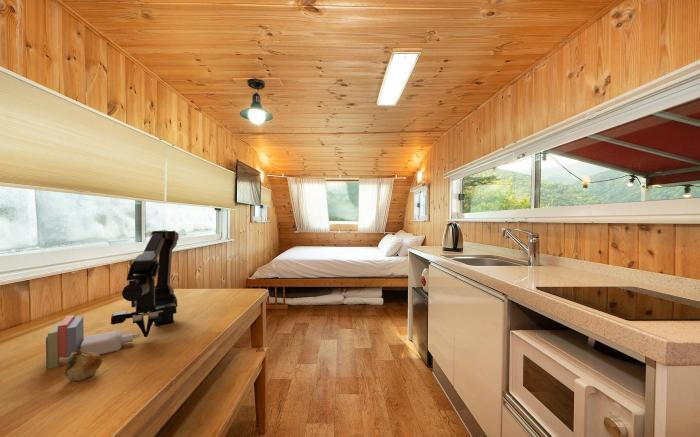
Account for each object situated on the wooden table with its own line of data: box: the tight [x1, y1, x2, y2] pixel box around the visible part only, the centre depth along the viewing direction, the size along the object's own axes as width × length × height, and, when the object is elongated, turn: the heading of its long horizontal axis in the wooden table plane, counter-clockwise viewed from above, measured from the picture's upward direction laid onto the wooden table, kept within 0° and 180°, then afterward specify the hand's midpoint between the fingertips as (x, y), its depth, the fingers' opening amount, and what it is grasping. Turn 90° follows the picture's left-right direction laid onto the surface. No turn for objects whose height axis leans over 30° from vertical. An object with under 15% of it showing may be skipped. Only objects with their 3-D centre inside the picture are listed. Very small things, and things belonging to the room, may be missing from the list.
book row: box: [45, 314, 85, 369], centre depth 89 cm, size 7×12×12 cm, turn 36°
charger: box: [81, 330, 141, 356], centre depth 96 cm, size 5×9×15 cm
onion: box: [59, 349, 104, 382], centre depth 77 cm, size 8×8×8 cm
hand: (145, 336), depth 101 cm, fingers closed
